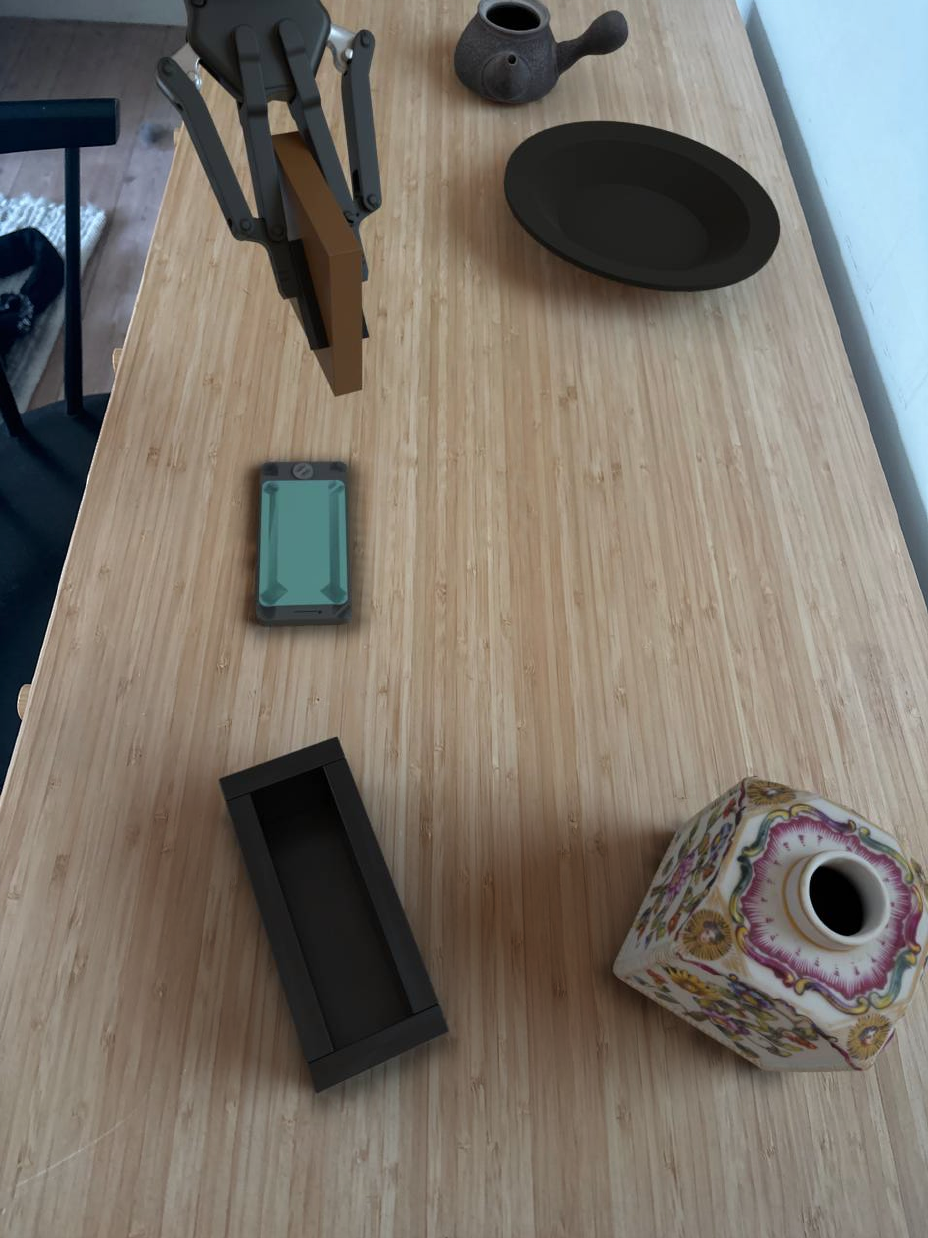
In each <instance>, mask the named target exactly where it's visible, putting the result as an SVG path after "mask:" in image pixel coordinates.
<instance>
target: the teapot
mask: <svg viewBox="0 0 928 1238" xmlns="http://www.w3.org/2000/svg"><path fill="white" fill-rule="evenodd" d="M476 9H477V12H476V13H475V15H474V16H473V17H472V18H471V19H470V20H469V22H468V24H466V26H465V27H464V29H463V31H462V32H461V34H460V35H459V39H458V41H457V44H456V46H455V49H454V53H453V66H454V69H455V74H456V76H457V78H458V79H459V81H460V82H461V83H462V85H464V86H465V87H466V88H467V89H468V90H470V91H471V92H473V93H475V94H476V95H479V96H480V97H483V98H486V99H490V100H492V101H497V102H501V103H508V104H520V103H521V104H522V103H532V102H535V101H537V100H540V99H542V98H544V97H545V96H547V95H548V94H549V93H550V92H551V91H552V90H553V89H554V88H555V86H556V85H557V83H558V81H559V78H560V76H561V75H563V73H566V71H568V70H569V69H571V68H572V67H573V66H574V65H575V64H576V63H577V62H578V61H580V60H581V59H582V58H584V57H587V56H605V55H609V54H611V53H614V52H616V51H617V50H619V49H620V48H622V47H623V46H624V45H625V43H626V42H627V41H628V38H629V26H628V21H627V19H626V17H625V16H624V13H622V12H621V11H620V10H617V9H612V10H607V11H605V12H604V13H602V14H600V15H599V16H598V17H596V18H595V19H594V20H593V21H592V22H591V24H590V25H589V27H588V28H587V29H585V31H584V32H583V33H582V34H581V35H579V36H578V37H576V38H573V39H568V40H562V41H559V42H557V40H556V38H555V35H554V33H553V30H552V28H551V26H550V22H551V13H550V11H549V9H548V7H547V6H546V5H545V4H544V3H543V2H542V1H541V0H480V1H479V2H478V3H477V7H476Z"/></svg>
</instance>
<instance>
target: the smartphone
mask: <svg viewBox="0 0 928 1238" xmlns="http://www.w3.org/2000/svg"><path fill="white" fill-rule="evenodd" d="M259 475H260V477H259V506H258V507H259V509H258V532H257V534H256V536H255V537H256V538H255V539H256V540H255V544H256V545H255V561H256V564H255V568H254V569H255V570H254V575H255V576H254V582H255V583H254V602H255V604H256V608H255V610H256V612H255V615H256V618H257V621H258V623H259V624H260V625H261V626H263V627H281V626H284V627H285V626H313V625H316V626H317V625H344V624H345V625H346V624H347V623H349V622H350V621H351V619H352V616H353V615H352V585H351V584H352V583H351V581H352V580H351V552H350V551H351V547H350V546H351V545H350V544H351V543H350V514H349V513H350V512H349V479H348V478H349V476H348V475H349V474H348V466H347V464H346V463H345V462H343V461H340V460H339V461H267V462H264V463H263V464H261V465H260V473H259Z"/></svg>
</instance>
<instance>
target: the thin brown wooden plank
mask: <svg viewBox="0 0 928 1238" xmlns="http://www.w3.org/2000/svg"><path fill="white" fill-rule="evenodd" d="M271 137H272V143H273V149H274V155H275V161H276V166H277V172H278V178H279V184H280V190H281V195H282V201H283V207H284V213H285V218H286V224H287V237H288V240H289V241H291V240H296V239H302V243H303V247H304V250H305V254H306V258H307V262H308V266H309V270H310V273H311V277H312V281H313V285H314V289H315V293H316V296H317V300H318V304H319V308H320V312H321V316H322V319H323V323H324V327H325V331H326V335H327V339H328V342H329V346H330V347H328V348H324V349H319V350H312V351H313V355H314V356H315V358H316V360H317V362H318V364H319V366H320V368H321V370H322V373H323V375H324V377H325V379H326V381H327V384H328V385H329V388H330V389H331V392H332V394H333V397H334V398H335V397H340V396H344V395H349V394H351V393H356V392H360V391H363V339H362V308H363V282H362V248H361V246H360V244H359V242H358V240H357V239H356V237H355V235H354V233H353V231H352V229H351V227H350V226H349V224H348V222H347V220H346V218H345V216H344V214H343V213H342V211H341V209H340V207H339V205H338V203H337V201H336V200H335V198H334V196H333V194H332V192H331V190H330V188H329V187H328V185H327V183H326V181H325V179H324V177H323V175H322V174H321V172H320V170H319V168H318V166H317V164H316V162H315V161H314V159H313V157H312V155H311V153H310V151H309V149H308V148H307V146H306V144H305V142H304V140H303V138H302V136H301V135H300V133H299V131H298V130H294V131H288V132H282V133H276V134H271ZM288 300H289V303H290V305H291V307H292V309H293V311H294V314H295V315H296V318H297V320H298V322H299V324H300V327H301V328H302V330H303V333H304V335H305V337H306V338H307V335H306V332H305V328H304V324H303V320H302V317H301V313H300V309H299V306H298V302H297V298H296V297H295V298H290V299H288Z"/></svg>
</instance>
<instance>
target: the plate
mask: <svg viewBox="0 0 928 1238" xmlns="http://www.w3.org/2000/svg"><path fill="white" fill-rule="evenodd" d="M503 193H504V198H505V201H506V203H507V206H508V208H509V210H510V212H511V214H512V215H513V217H514V218H515V220H516V221H517V222H518V224H519V225H520V226H521V228H522V229H523V230H524V231H525V232H526V233H527V235H529V236H530V237H531V238H532V239H533V240H534V241H535V242H536V243H538V244H539V245H541V246H542V247H543V248H544V249H546V251H549V252H550V253H551V254H552V255H554V256H556V257H558V258H559V259H561V260H562V261H564V262H566V263H567V264H569V265H572V266H574V267H575V268H578V269H579V270H582V271H583V272H587V273H589V274H590V275H594V276H596V277H599V278H602V279H605V280H607V281H611V282H614V283H616V284H622V285H625V286H629V287H634V288H640V289H643V290H650V291H657V292H659V291H660V292H671V293H694V292H696V293H697V292H705V291H712V290H717V289H721V288H727V287H730V286H733V285H736V284H738V283H741V282H742V281H746V280H748V279H749V278H751V277H752V276H754V275H755V274H757V273H758V272H759V271H761V270H762V269H763V268H764V267H765V266H766V265H767V264H768V263H769V261H770V260H771V258H772V257H773V255H774V253H775V251H776V248H777V247H778V244H779V241H780V237H781V220H780V217H779V212H778V210H777V208H776V205H775V203H774V202H773V199H772V198H771V197H770V195H769V193H768V192H767V191H766V189H765V188H764V187H763V186H762V185H761V184H760V183H759V181H758V180H757V179H756V178H755V177H754V176H752V174H750V173H749V172H748V171H747V170H746V169H745V168H743V167H742V166H741V165H739V164H738V163H737V162H736V161H734V160H732V159H731V158H729V156H727V155H725V154H723V153H721V152H720V151H718V150H716V149H714V148H712V147H710V146H708V145H706V144H704V143H702V142H700V141H697V140H695V139H693V138H691V137H688V136H684V135H683V134H680V133H676V132H673V131H670V130H666V129H663V128H659V127H655V126H650V125H646V124H641V123H636V122H627V121H617V120H584V121H581V120H580V121H574V122H567V123H561V124H558V125H553V126H551V127H548V128H545V129H543V130H540V131H538V132H536V133H534V134H533V135H530V136H529V137H528V138H526V139H525V140H523V141H522V142H521V143H520V144H519V145H518V146H517V147H515V149H514V150H513V151H512V153H511V154H510V156H509V158H508V160H507V161H506V166H505V169H504V175H503Z"/></svg>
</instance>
